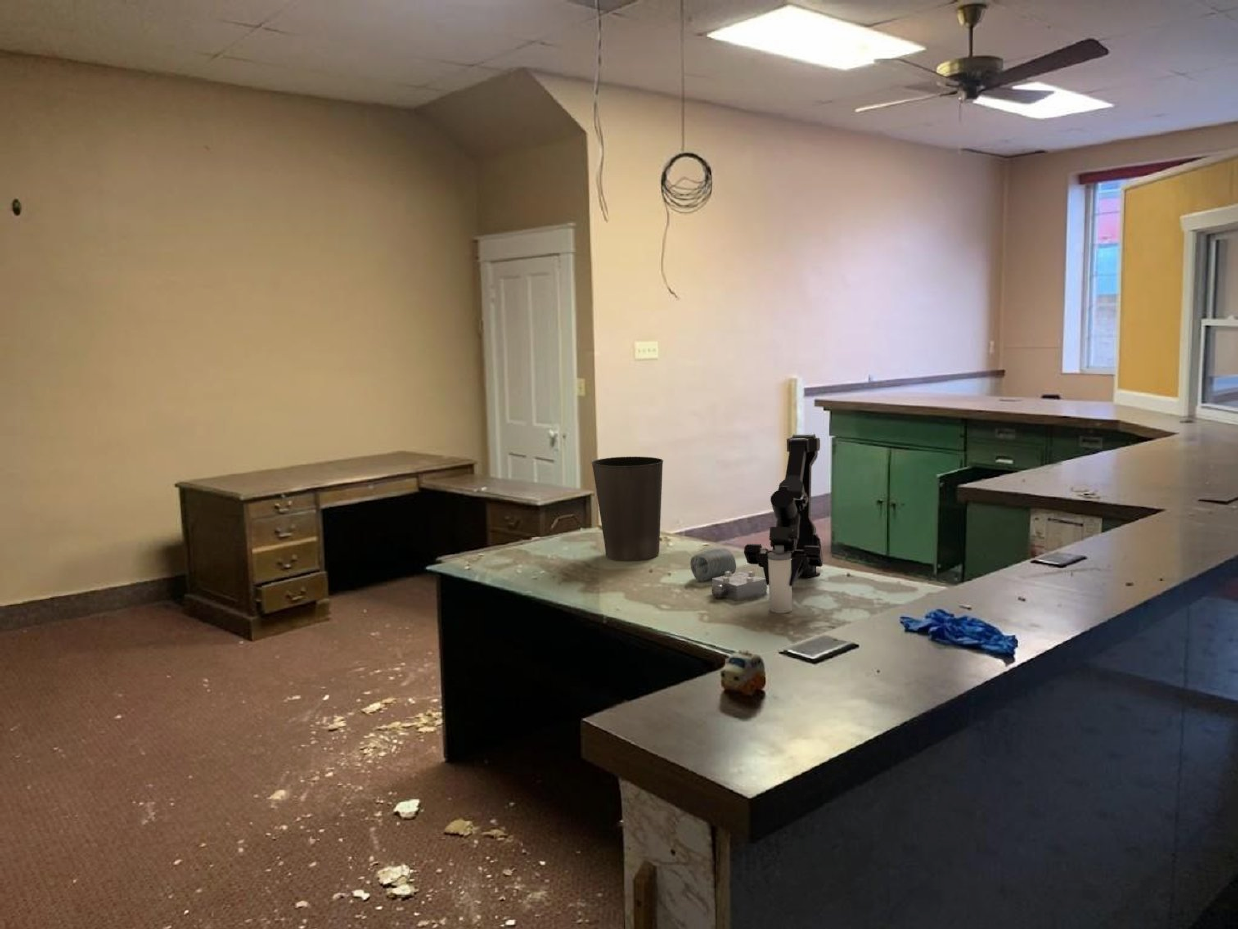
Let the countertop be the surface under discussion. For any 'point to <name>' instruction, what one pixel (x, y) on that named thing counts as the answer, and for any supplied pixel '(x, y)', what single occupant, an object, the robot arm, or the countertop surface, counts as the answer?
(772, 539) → the robot arm
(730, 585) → the studded square plate
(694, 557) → the spool
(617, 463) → the waste basket
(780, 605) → the white bottle
